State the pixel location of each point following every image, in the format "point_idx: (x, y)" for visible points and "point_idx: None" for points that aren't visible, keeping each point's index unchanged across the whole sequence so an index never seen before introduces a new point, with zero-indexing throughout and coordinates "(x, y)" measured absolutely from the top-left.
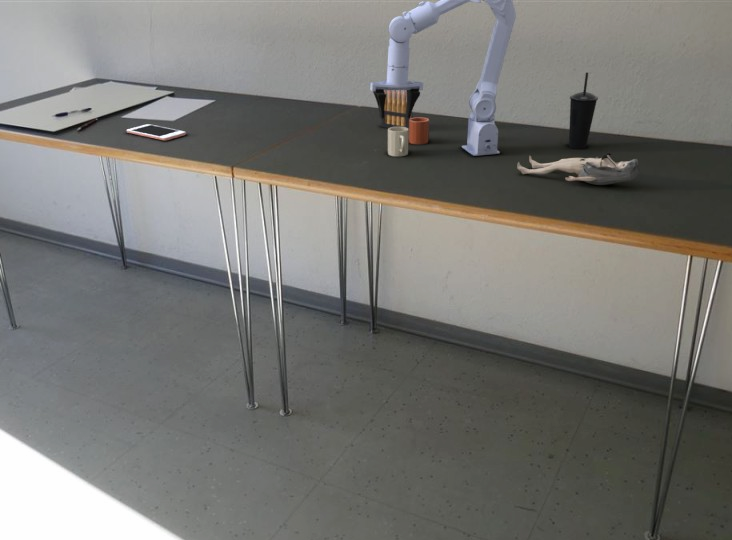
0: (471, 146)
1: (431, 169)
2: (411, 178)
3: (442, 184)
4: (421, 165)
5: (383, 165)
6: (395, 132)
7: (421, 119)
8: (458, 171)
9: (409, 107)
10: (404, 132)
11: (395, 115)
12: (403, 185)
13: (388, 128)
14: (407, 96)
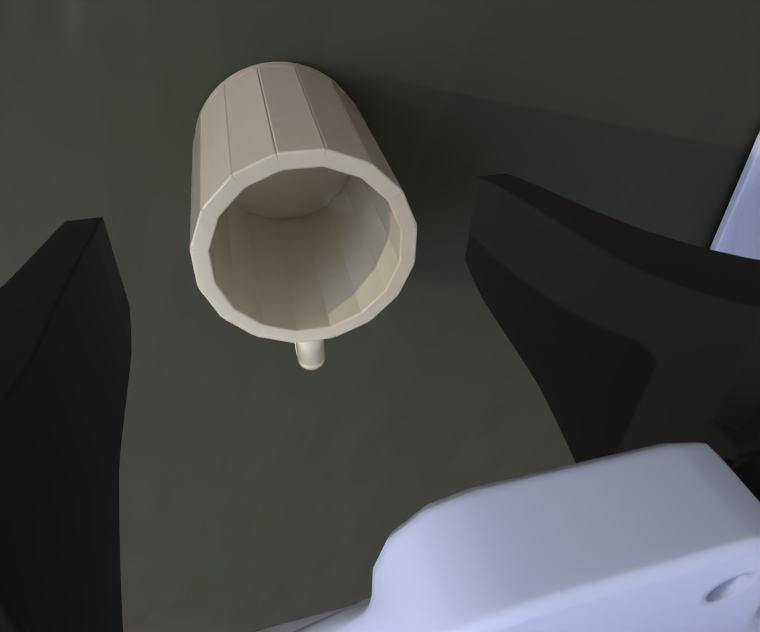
0: (752, 254)
1: (385, 448)
2: (254, 535)
3: (357, 577)
4: (360, 396)
5: (130, 378)
6: (257, 332)
7: None
8: (486, 472)
9: (528, 348)
10: (346, 323)
11: None
12: (201, 592)
13: (203, 208)
14: (647, 329)
